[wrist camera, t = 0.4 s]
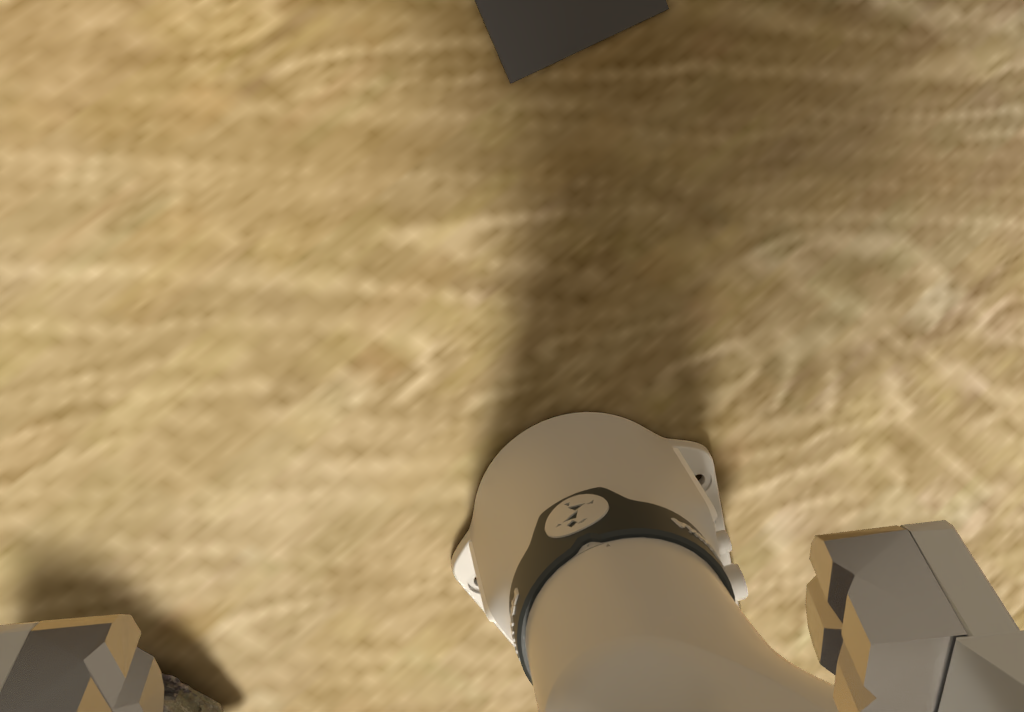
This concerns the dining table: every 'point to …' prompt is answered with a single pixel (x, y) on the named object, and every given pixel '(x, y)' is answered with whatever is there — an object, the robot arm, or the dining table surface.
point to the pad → (556, 28)
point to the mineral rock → (185, 698)
